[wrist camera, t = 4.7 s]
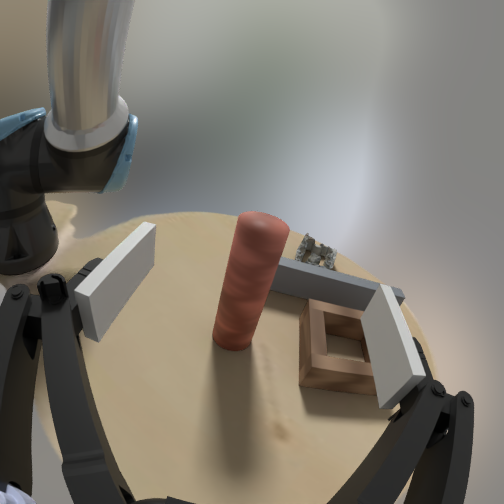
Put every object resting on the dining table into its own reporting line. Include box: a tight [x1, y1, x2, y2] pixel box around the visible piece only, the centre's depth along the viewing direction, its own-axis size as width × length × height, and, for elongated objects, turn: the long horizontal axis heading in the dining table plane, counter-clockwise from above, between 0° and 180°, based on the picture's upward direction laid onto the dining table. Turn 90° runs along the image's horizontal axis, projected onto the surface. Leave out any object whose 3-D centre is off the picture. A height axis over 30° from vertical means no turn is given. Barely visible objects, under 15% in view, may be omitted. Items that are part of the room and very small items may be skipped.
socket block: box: [299, 298, 377, 395], centre depth 34 cm, size 12×12×4 cm
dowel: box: [213, 211, 290, 351], centre depth 30 cm, size 5×5×16 cm
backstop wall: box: [270, 257, 405, 311], centre depth 44 cm, size 26×2×5 cm, turn 83°
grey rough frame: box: [295, 233, 337, 270], centre depth 54 cm, size 11×8×4 cm
